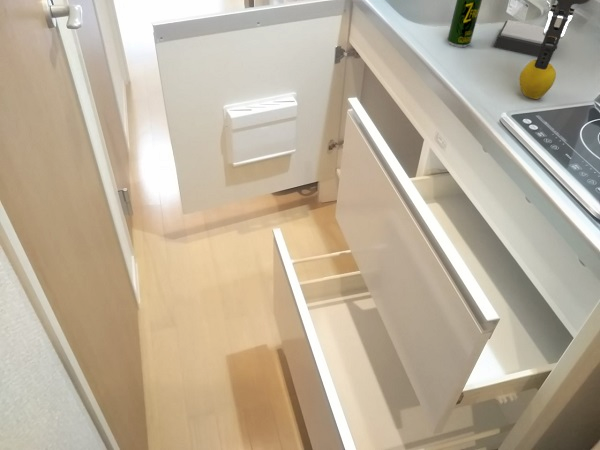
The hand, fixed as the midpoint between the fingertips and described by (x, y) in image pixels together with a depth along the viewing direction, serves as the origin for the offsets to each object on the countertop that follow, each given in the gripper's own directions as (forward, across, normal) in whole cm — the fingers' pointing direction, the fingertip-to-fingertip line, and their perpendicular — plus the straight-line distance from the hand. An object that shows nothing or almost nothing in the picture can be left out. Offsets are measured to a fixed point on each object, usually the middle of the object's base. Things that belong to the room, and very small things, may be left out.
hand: (543, 59), depth 99 cm
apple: (+8, 0, 0) cm, 8 cm away
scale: (+8, +26, +5) cm, 28 cm away
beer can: (+8, +18, +19) cm, 27 cm away
